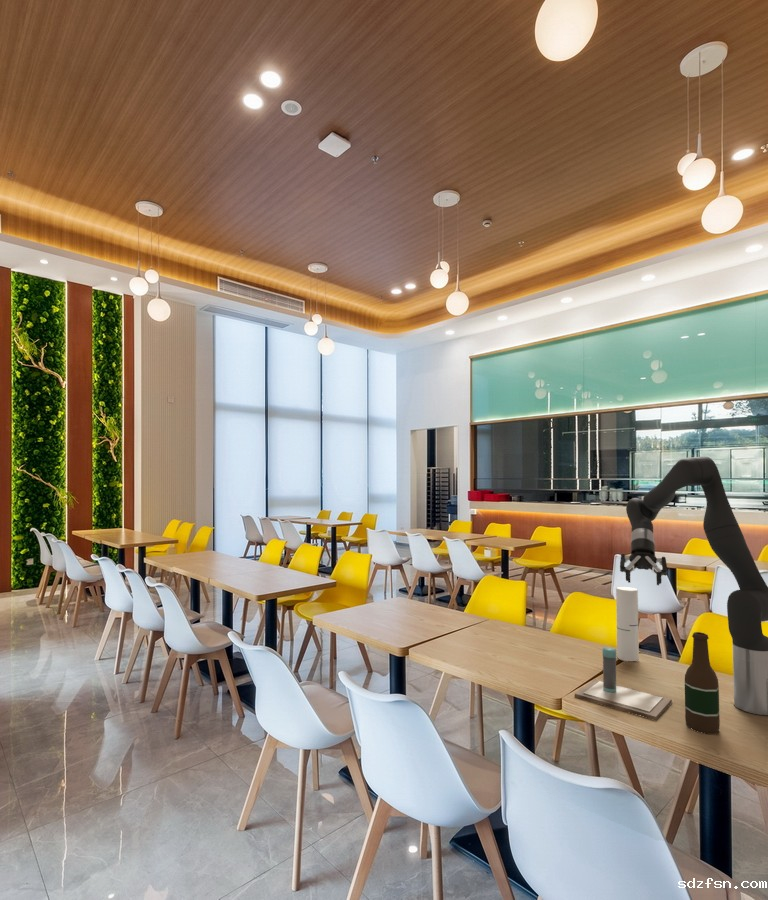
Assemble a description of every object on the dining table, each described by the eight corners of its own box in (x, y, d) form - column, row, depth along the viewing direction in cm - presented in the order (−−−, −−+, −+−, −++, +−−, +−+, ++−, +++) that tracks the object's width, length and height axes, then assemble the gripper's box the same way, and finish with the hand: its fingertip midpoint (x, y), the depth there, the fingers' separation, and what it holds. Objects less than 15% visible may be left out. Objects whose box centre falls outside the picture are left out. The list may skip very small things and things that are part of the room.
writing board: (671, 702, 151) (671, 698, 151) (656, 720, 139) (655, 715, 139) (594, 682, 166) (594, 678, 166) (574, 696, 154) (574, 692, 154)
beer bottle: (715, 723, 138) (713, 631, 139) (724, 737, 130) (721, 639, 132) (682, 719, 140) (680, 628, 142) (688, 731, 133) (686, 635, 134)
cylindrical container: (642, 662, 186) (641, 590, 187) (622, 661, 186) (621, 590, 187) (633, 655, 193) (632, 586, 194) (613, 655, 193) (612, 586, 194)
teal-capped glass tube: (618, 690, 156) (618, 649, 157) (614, 693, 153) (613, 652, 154) (605, 686, 159) (605, 646, 159) (601, 690, 156) (600, 649, 156)
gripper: (620, 536, 184) (619, 573, 173) (665, 538, 178) (668, 577, 167) (620, 549, 189) (620, 587, 177) (665, 552, 182) (667, 591, 171)
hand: (643, 582), depth 172 cm, fingers open, 8 cm apart
